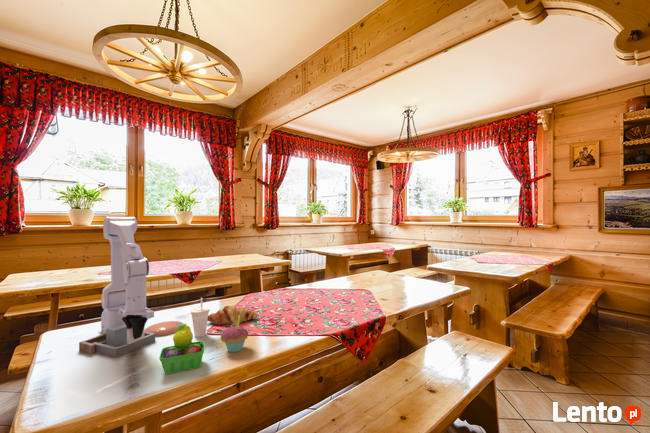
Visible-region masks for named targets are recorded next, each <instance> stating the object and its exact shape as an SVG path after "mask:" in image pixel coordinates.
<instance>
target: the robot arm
mask: <svg viewBox="0 0 650 433" xmlns="http://www.w3.org/2000/svg"><path fill="white" fill-rule="evenodd" d="M102 225H103V226H102V229H103V230H102V232H103V233H102V235H103V238H104V239H106V240H108V242H109V244H110V275H111V276H110V278H111V281H110V283H109V284H107V285H106V286H105V287H104V288H102V291H101V292H102V293H101V298H100V299H101V302H100V303H101V307H102V309H103V311H102V313H101V315H100V330H99V331H98V333H100V334H105V333H106V329H107V328H110V327H113V326H116V325H119V324H121V325H126V326H127V329H130V328H132V329H133V337H134V339H137V338H140V337H141V336H142V333H143V329H144V330H145V326H146V323H147V321H148V320H149V319H152V318H154V317H155V311H154V310H151V309H150V308H148V307H147V276H148V275H149V273H150V263H149V260H148V259H147V258H146V257H145V256H144V255H143V253H142V250H141V249H142V248H141V246H140V245H139V244H137V243H136V241H135V236H134V235H135V233H136V232H137V229H138V220H137V218H136V217H135V216H105V217H104V218H103V223H102Z"/></svg>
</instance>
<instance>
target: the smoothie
mask: <svg viewBox="0 0 650 433" xmlns="http://www.w3.org/2000/svg"><path fill="white" fill-rule="evenodd" d="M209 312H210V307H208V306H203V297H200V306H198V307H194V308H192V309H191V310H190V315H191V319H192V326H193V334H194V335H193V336H194V337H195V338H202V337H204V336H206V335H207V334H206V333H207V326H208V321H207V320H208V316H209Z"/></svg>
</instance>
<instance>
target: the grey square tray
mask: <svg viewBox="0 0 650 433" xmlns="http://www.w3.org/2000/svg"><path fill="white" fill-rule="evenodd" d="M153 342H156V337H155V333H150V332H145V328H144V329H143V333H142V336H141V337H140V338H137V339H134V337H133V329H132V328H130V329H127V343H125V344H123V345H120V346H118V347H113V346H109V345H106V340H105V341H102V342H99V343H97V342H94V343H92V344H95V353H97V354H101V355H105V356H108V357H112V358H118V357H120V356H122V355H126V354H127V353H131V352H132V351H135V350H137V349H139V348H142V347H144V346H147V345H149V344H151V343H153Z"/></svg>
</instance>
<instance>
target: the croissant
mask: <svg viewBox="0 0 650 433" xmlns="http://www.w3.org/2000/svg"><path fill="white" fill-rule="evenodd" d="M239 314H240V321H239V324H240V323H245V322H247V320H248V321H251V319H253V320H255V319H257V318H258V316H259V314H258V312H255V311H253V310H252V309H251V310H249V309H246V308H245V307H238V308H237V307H236V306H235V305H225V306H224V307H223V308H222V309H219V310H217V311H216V312H215V313H213V312H212V313H210V314H208V320H207V322H209V323H213V324H214V325H225V326H226V324H227V325H233V323H234V324H235V322H234V321H235V320H236V318H237V319H238V315H239ZM244 321H245V322H244Z"/></svg>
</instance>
